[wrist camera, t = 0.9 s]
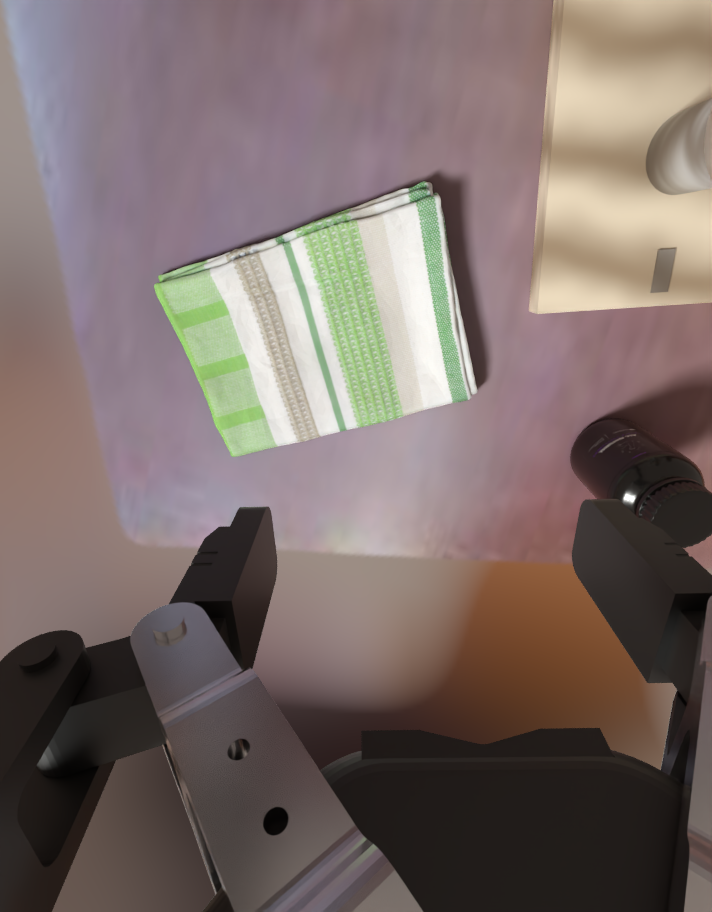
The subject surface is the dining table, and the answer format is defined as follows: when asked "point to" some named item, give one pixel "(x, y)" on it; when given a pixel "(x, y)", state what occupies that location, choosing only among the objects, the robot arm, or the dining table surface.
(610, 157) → the post board
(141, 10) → the dining table surface
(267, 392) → the dish towel
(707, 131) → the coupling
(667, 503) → the supplement bottle
